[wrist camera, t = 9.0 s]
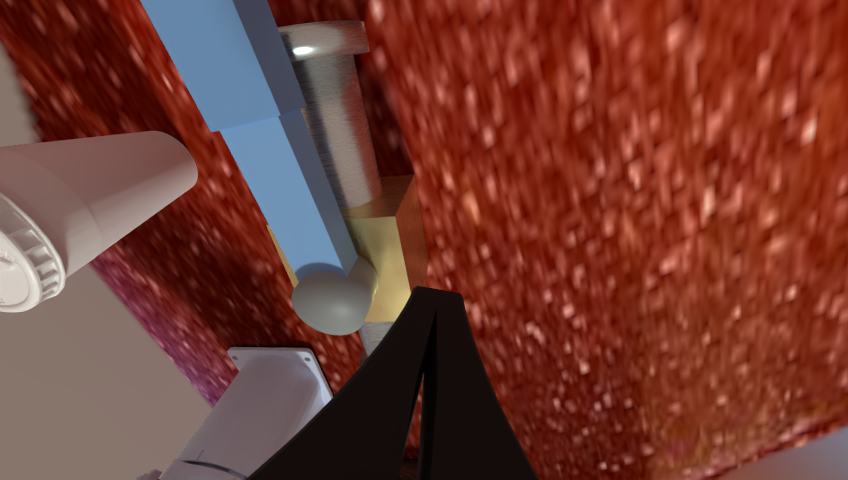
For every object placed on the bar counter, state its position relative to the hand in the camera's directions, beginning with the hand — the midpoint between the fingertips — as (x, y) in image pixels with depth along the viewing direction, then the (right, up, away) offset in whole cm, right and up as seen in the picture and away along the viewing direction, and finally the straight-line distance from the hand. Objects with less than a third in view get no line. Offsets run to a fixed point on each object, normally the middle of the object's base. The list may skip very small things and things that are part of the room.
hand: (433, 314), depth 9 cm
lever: (-5, +5, +3) cm, 8 cm away
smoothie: (-16, +7, +10) cm, 20 cm away
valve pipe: (-3, +3, +10) cm, 11 cm away
